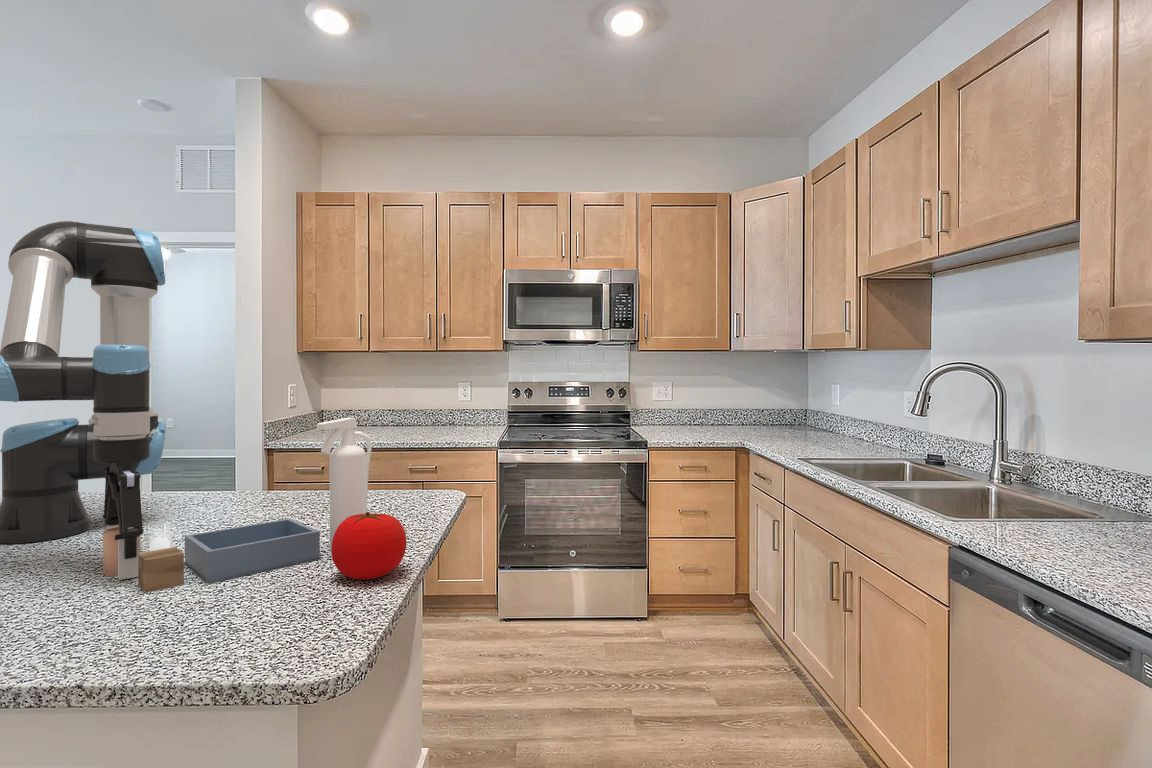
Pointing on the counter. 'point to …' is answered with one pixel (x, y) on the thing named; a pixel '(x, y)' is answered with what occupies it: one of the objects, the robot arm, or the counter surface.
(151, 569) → the walnut cube
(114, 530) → the peach rounded cylinder
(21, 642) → the counter surface
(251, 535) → the tote
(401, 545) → the tomato
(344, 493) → the white spray bottle
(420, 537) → the counter surface
